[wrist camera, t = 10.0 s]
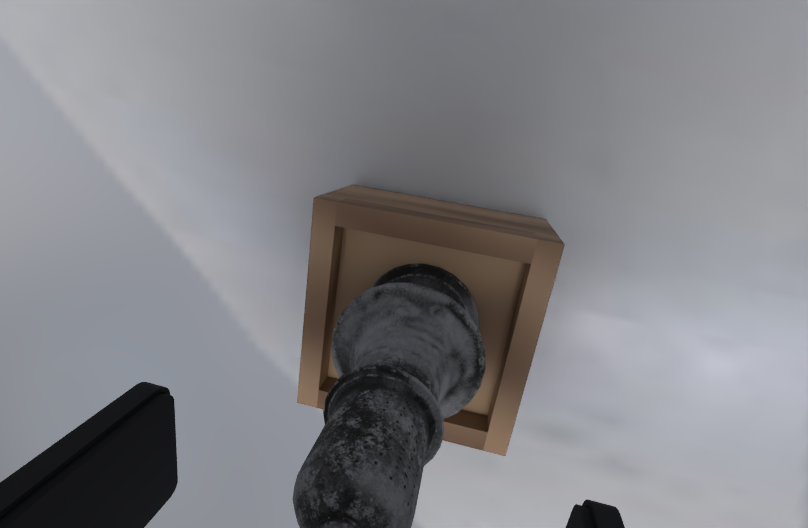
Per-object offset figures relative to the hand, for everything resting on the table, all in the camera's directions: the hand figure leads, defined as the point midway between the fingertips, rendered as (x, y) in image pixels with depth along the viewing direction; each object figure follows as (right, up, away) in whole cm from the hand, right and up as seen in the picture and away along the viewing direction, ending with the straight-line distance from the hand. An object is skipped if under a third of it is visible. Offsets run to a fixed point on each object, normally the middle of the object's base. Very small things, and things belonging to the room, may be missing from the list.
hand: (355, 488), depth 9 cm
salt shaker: (+2, +3, +10) cm, 10 cm away
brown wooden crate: (+2, +4, +13) cm, 14 cm away
